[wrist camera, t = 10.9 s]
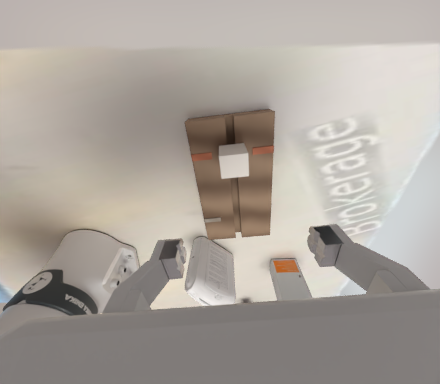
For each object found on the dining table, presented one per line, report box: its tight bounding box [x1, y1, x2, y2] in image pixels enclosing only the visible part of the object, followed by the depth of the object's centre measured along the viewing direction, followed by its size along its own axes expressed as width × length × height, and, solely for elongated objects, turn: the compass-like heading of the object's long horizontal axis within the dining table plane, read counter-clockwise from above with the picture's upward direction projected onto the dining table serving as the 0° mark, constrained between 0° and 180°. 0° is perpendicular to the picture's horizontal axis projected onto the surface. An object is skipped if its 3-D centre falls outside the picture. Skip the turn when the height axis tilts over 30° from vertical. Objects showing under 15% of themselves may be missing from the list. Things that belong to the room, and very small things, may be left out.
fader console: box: [185, 109, 275, 240], centre depth 30 cm, size 22×12×3 cm, turn 6°
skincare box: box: [270, 259, 312, 301], centre depth 38 cm, size 6×4×12 cm
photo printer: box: [185, 237, 236, 306], centre depth 35 cm, size 10×4×12 cm, turn 49°
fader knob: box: [219, 143, 249, 179], centre depth 24 cm, size 3×4×6 cm
